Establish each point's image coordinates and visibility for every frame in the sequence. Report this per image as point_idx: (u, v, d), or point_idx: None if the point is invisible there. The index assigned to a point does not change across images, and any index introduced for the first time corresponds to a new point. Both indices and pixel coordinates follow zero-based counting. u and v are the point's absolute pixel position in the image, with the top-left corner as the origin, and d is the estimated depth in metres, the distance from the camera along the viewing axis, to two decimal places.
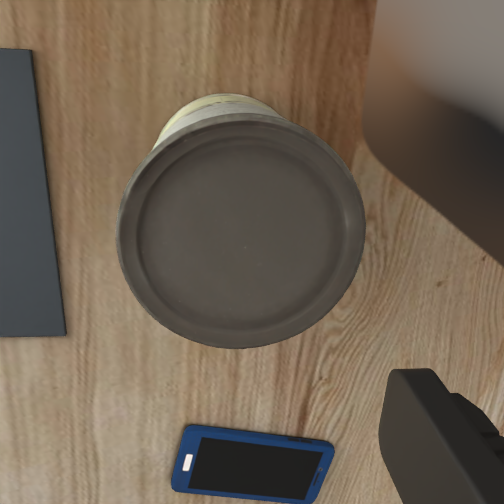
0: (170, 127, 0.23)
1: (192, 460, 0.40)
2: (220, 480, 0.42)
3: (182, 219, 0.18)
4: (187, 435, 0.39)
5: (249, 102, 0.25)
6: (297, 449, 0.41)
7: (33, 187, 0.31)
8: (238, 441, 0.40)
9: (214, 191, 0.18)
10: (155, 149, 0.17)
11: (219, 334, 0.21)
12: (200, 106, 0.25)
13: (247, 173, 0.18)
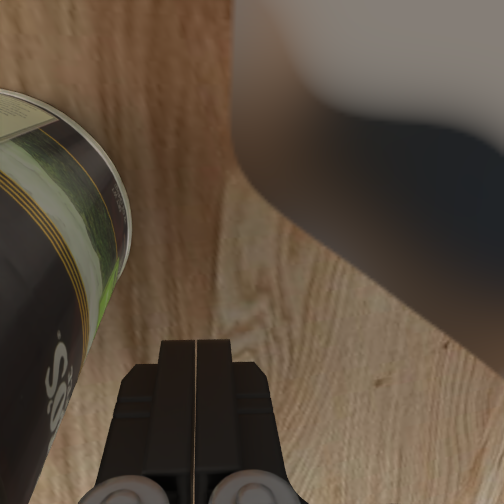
0: None
1: None
2: None
3: None
4: None
5: None
6: None
7: None
8: None
9: None
10: None
11: None
12: None
13: None
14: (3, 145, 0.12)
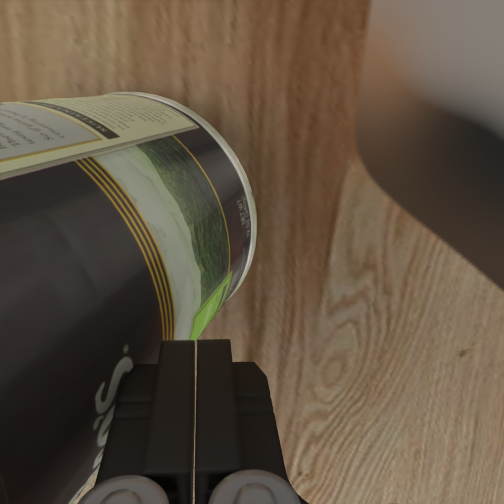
0: None
1: None
2: None
3: None
4: None
5: (75, 106, 0.13)
6: None
7: None
8: None
9: None
10: None
11: None
12: None
13: None
14: (125, 150, 0.12)
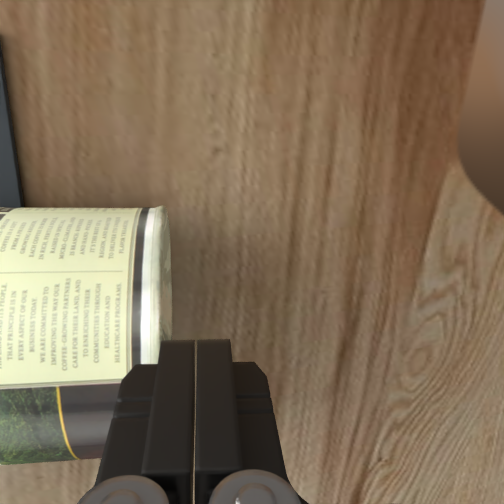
0: None
1: None
2: None
3: None
4: None
5: None
6: None
7: None
8: None
9: None
10: None
11: None
12: None
13: None
14: None
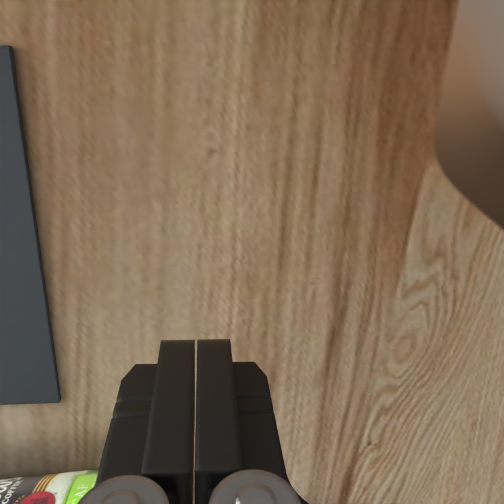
0: None
1: None
2: None
3: None
4: None
5: None
6: None
7: (17, 222, 0.24)
8: None
9: None
10: None
11: None
12: None
13: None
14: None
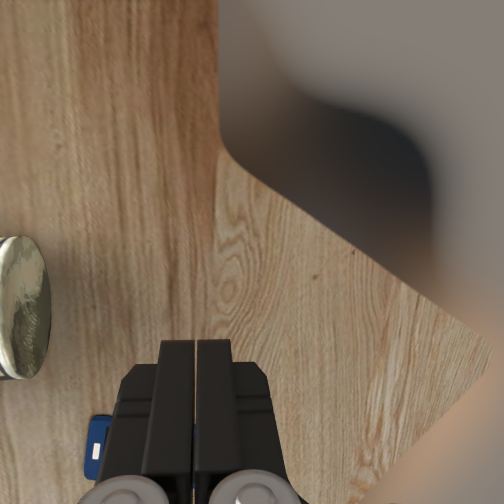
0: None
1: (100, 449, 0.44)
2: None
3: None
4: (92, 425, 0.42)
5: None
6: None
7: None
8: None
9: None
10: None
11: None
12: None
13: None
14: None
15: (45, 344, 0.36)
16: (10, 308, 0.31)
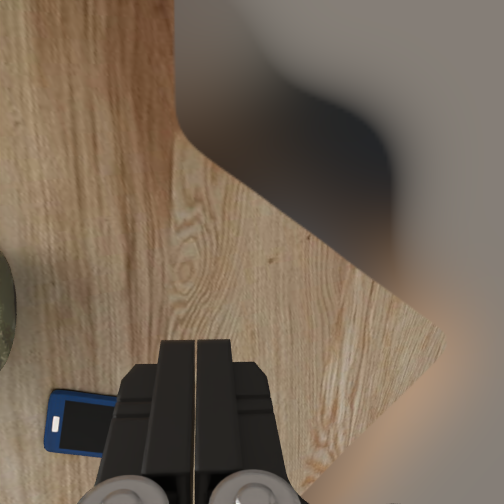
0: None
1: (59, 422, 0.45)
2: (88, 441, 0.46)
3: None
4: (52, 398, 0.44)
5: None
6: None
7: None
8: (100, 404, 0.44)
9: None
10: None
11: None
12: None
13: None
14: None
15: (13, 317, 0.39)
16: None
